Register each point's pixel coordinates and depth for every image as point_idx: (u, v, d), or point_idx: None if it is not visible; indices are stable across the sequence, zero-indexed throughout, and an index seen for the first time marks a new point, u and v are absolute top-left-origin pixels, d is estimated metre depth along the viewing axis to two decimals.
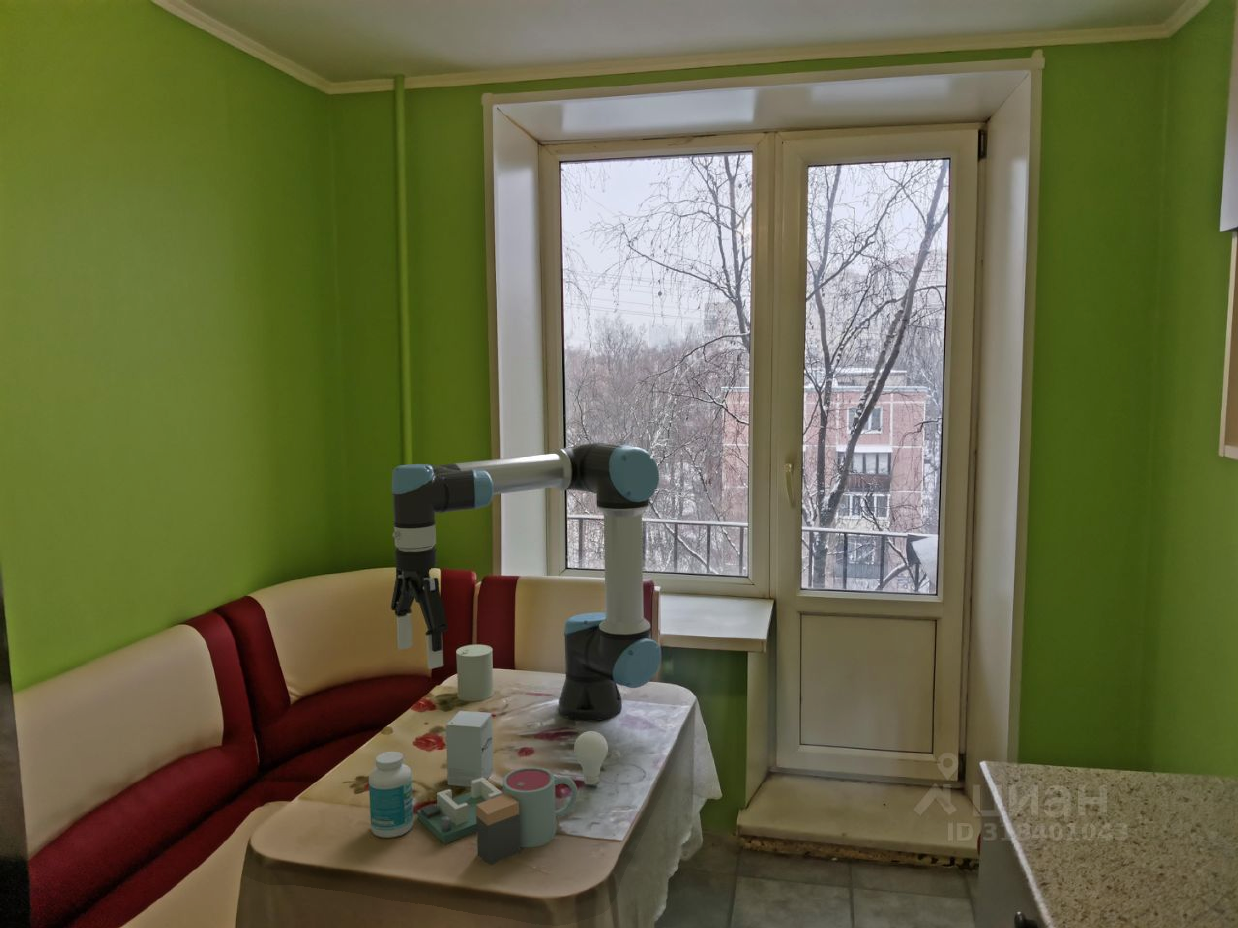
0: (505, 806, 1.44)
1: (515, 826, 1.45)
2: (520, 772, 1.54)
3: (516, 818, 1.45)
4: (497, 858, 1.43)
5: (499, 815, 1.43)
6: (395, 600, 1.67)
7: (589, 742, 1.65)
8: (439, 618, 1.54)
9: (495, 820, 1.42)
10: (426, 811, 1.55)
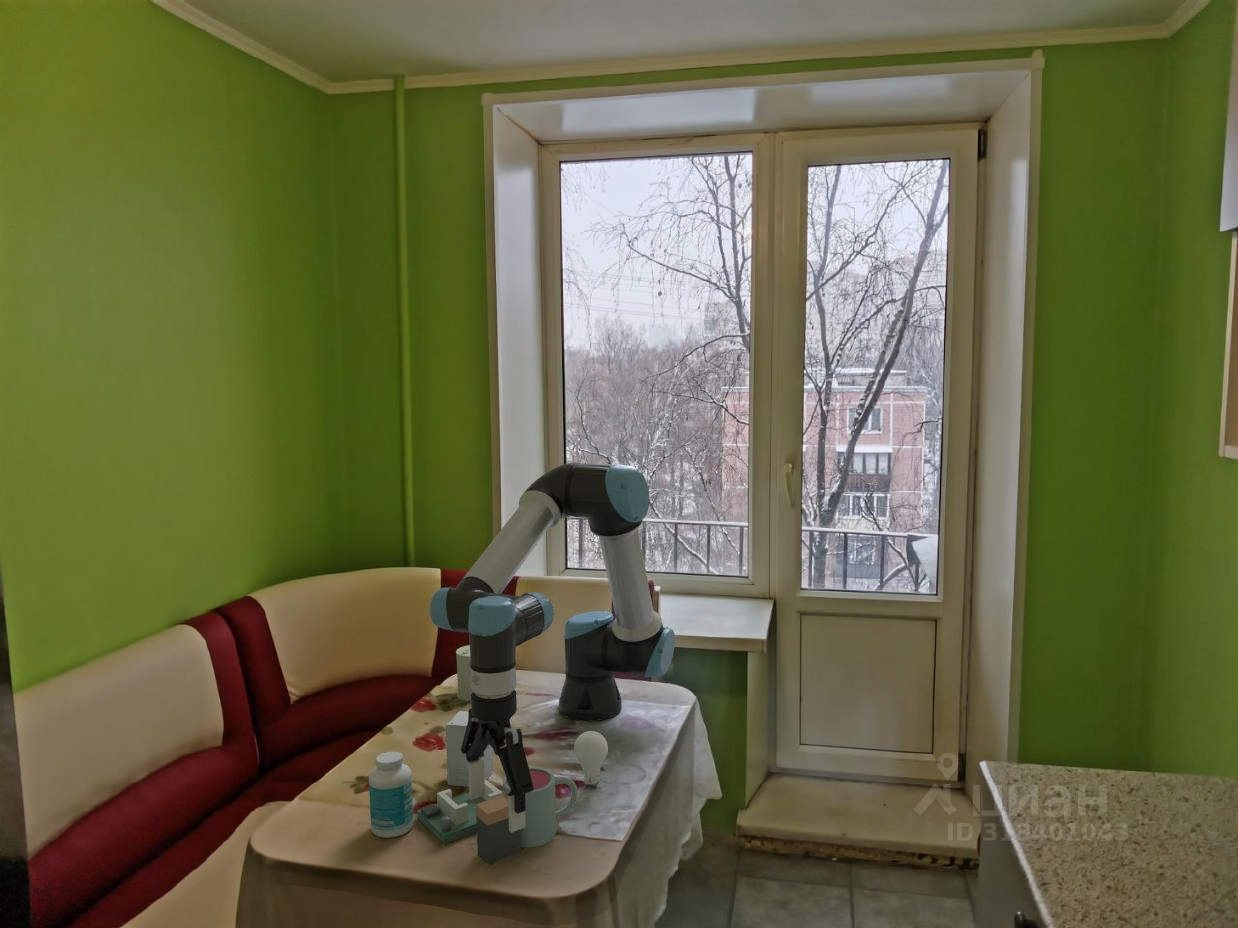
0: (505, 806, 1.44)
1: None
2: None
3: None
4: (497, 858, 1.43)
5: (499, 815, 1.43)
6: (467, 744, 1.49)
7: (589, 742, 1.65)
8: (524, 777, 1.36)
9: (495, 820, 1.42)
10: (426, 811, 1.55)
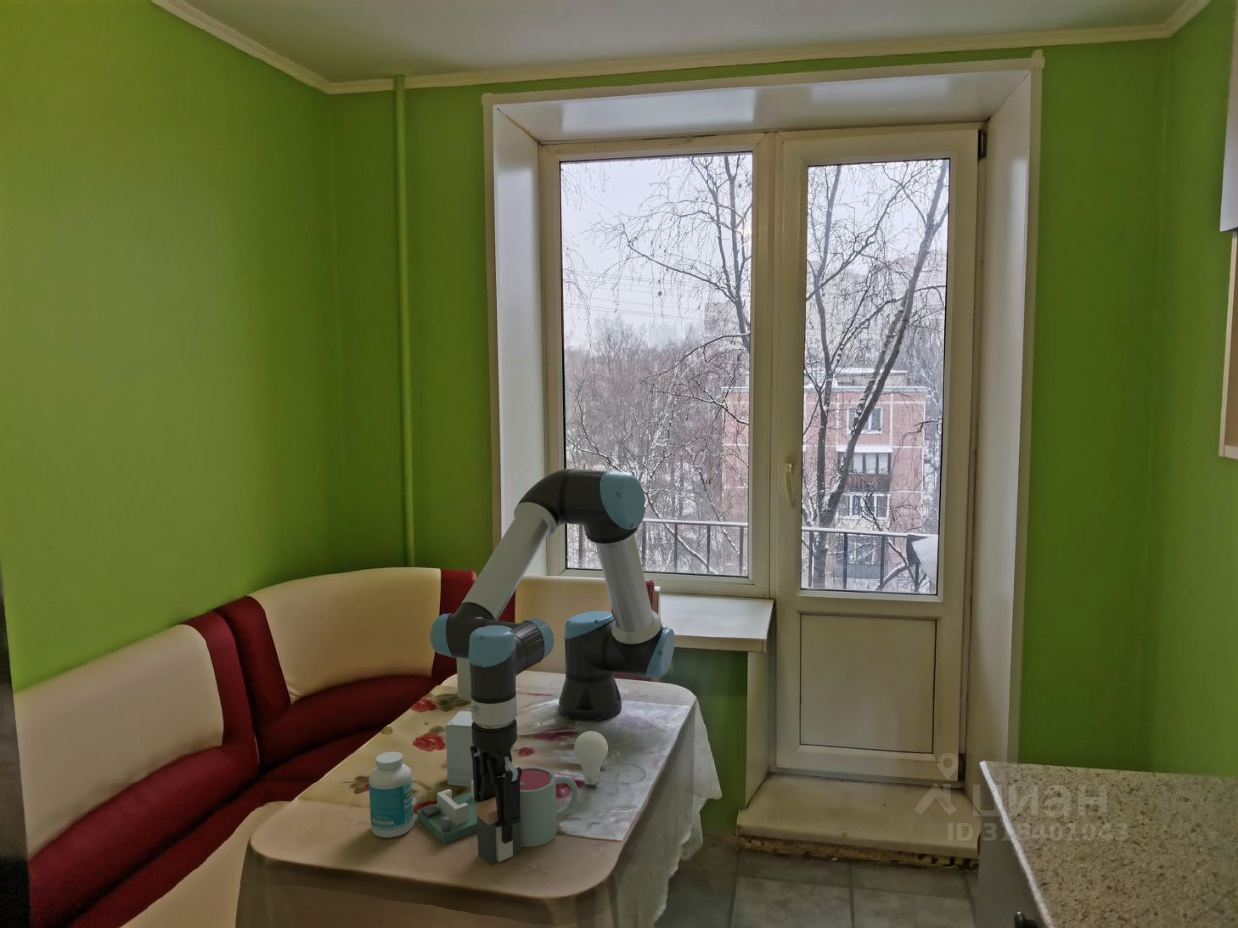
0: None
1: (516, 826, 1.45)
2: None
3: None
4: None
5: None
6: (477, 787, 1.47)
7: (589, 742, 1.65)
8: (513, 811, 1.40)
9: (495, 819, 1.42)
10: (426, 811, 1.55)
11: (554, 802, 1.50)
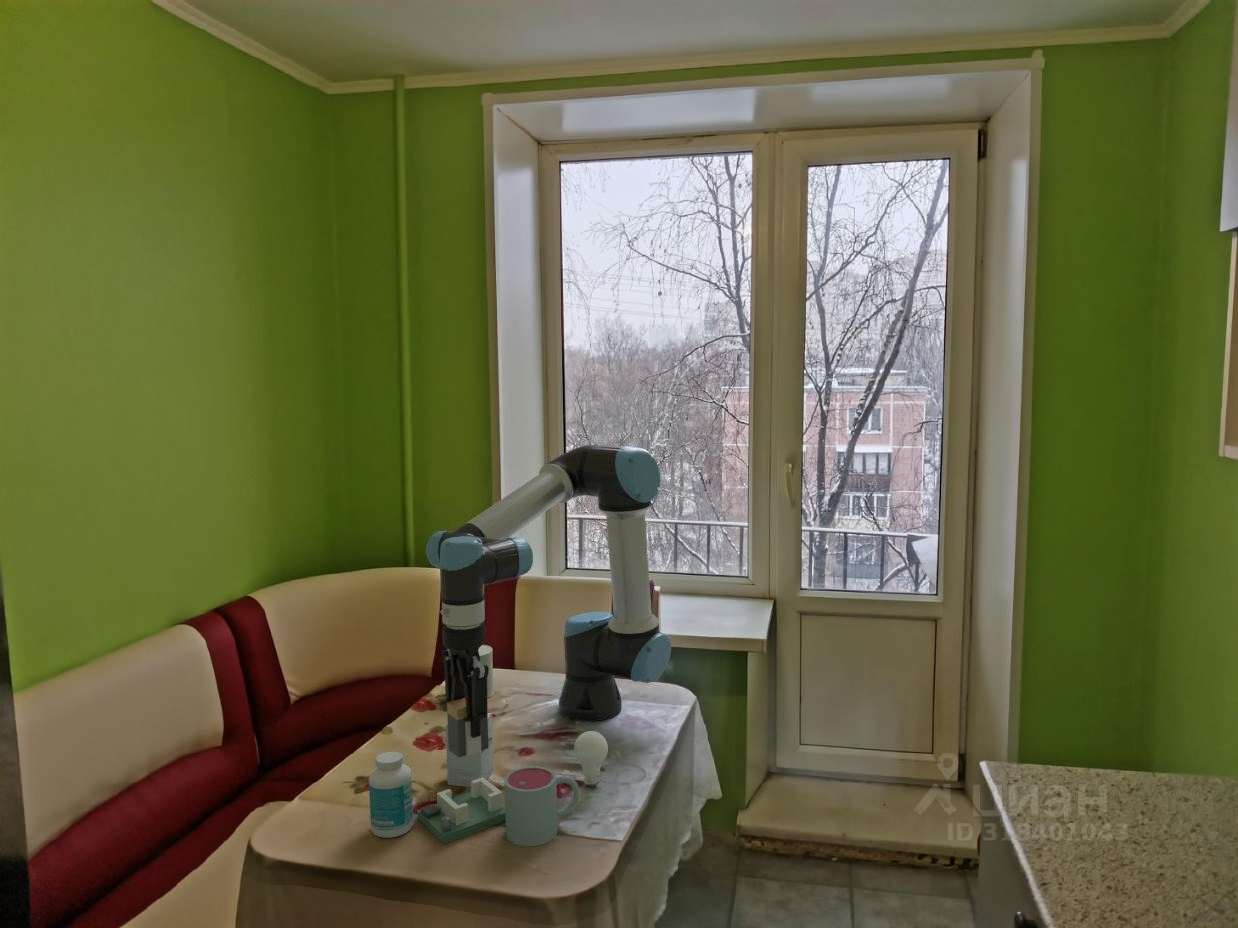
0: None
1: (484, 723, 1.56)
2: (522, 771, 1.54)
3: None
4: None
5: None
6: (449, 689, 1.58)
7: (589, 742, 1.65)
8: (481, 706, 1.50)
9: (464, 716, 1.53)
10: (426, 811, 1.55)
11: (555, 802, 1.50)
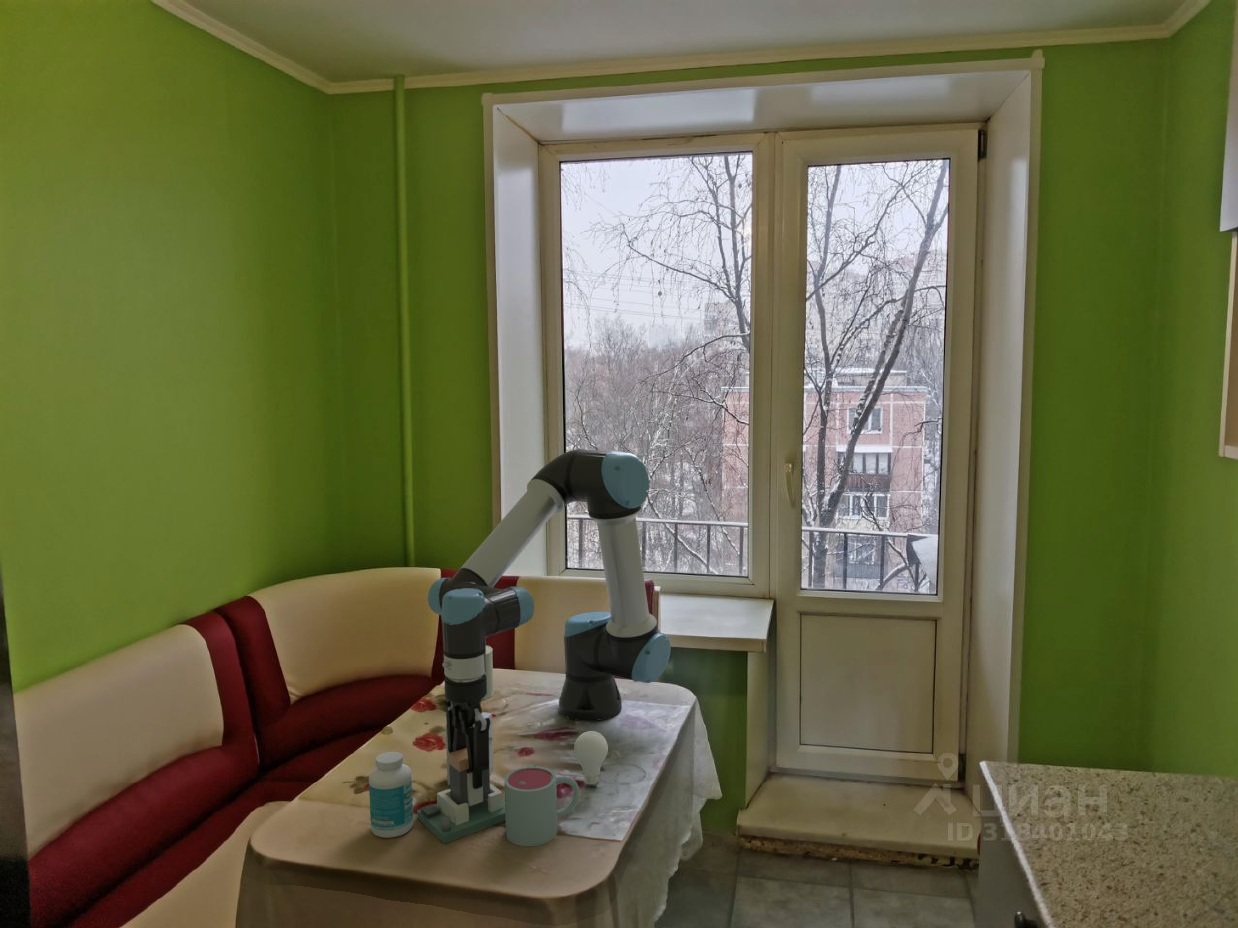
0: None
1: (485, 774, 1.57)
2: (522, 771, 1.54)
3: None
4: None
5: None
6: (451, 739, 1.59)
7: (589, 742, 1.65)
8: (483, 759, 1.52)
9: (466, 767, 1.54)
10: (426, 811, 1.55)
11: (555, 802, 1.50)
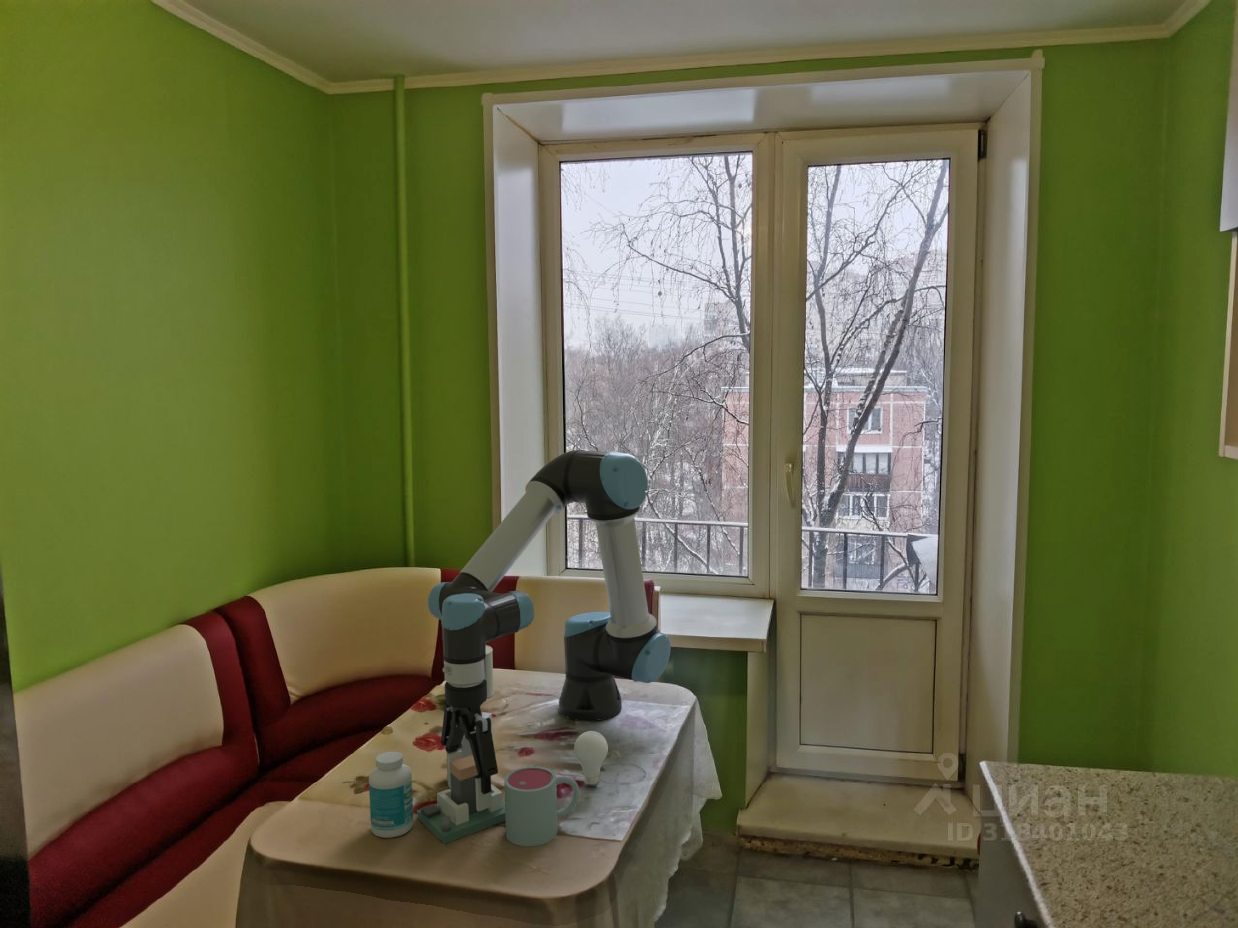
0: None
1: None
2: (522, 771, 1.54)
3: None
4: (469, 811, 1.55)
5: (470, 771, 1.55)
6: (445, 734, 1.61)
7: (589, 742, 1.65)
8: (490, 761, 1.50)
9: (467, 776, 1.54)
10: (426, 811, 1.55)
11: (555, 802, 1.50)
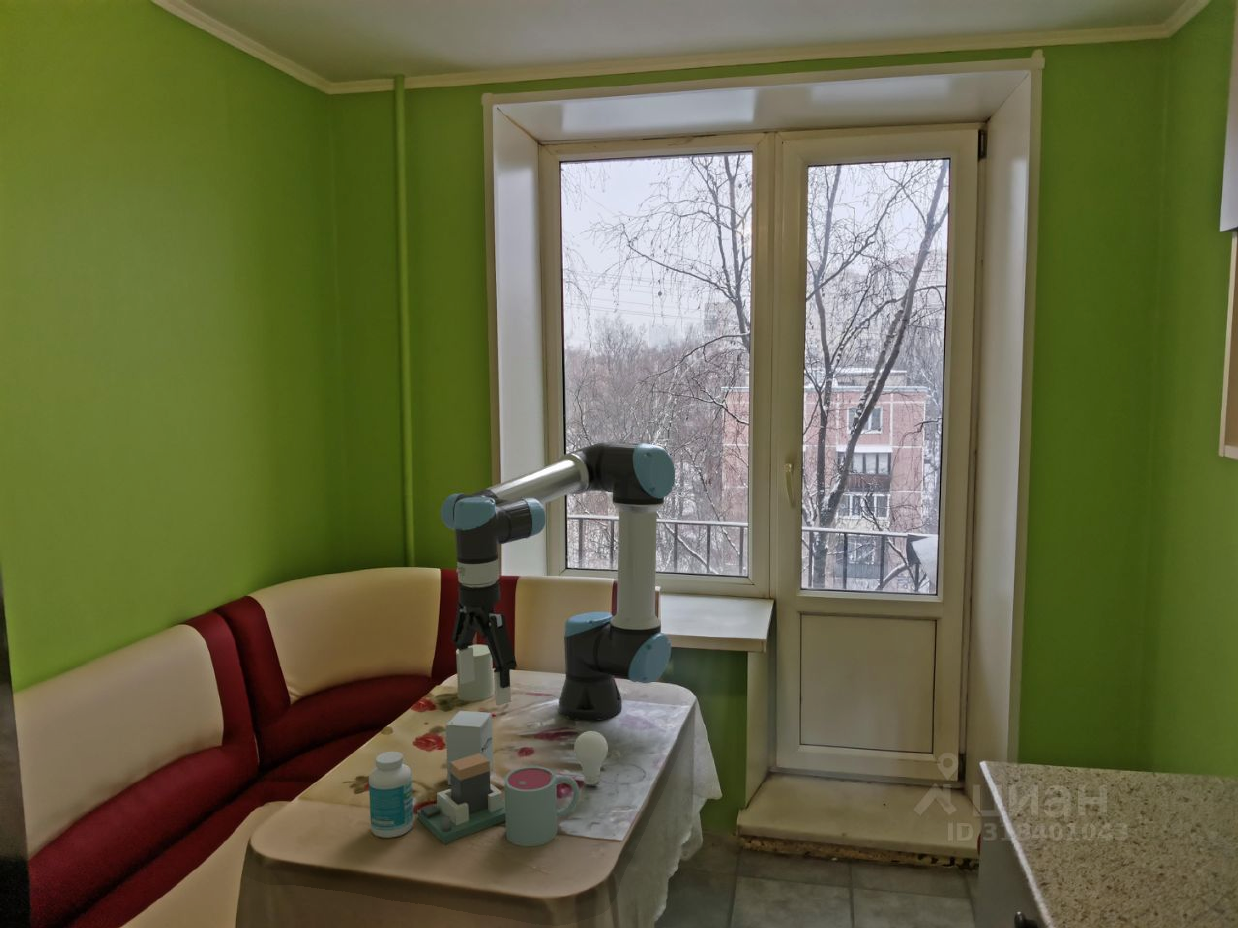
0: (476, 763, 1.56)
1: (486, 783, 1.57)
2: (522, 771, 1.54)
3: (487, 775, 1.57)
4: (469, 811, 1.55)
5: (470, 771, 1.55)
6: (457, 633, 1.64)
7: (589, 742, 1.65)
8: (507, 655, 1.51)
9: (467, 776, 1.54)
10: (426, 811, 1.55)
11: (555, 802, 1.50)
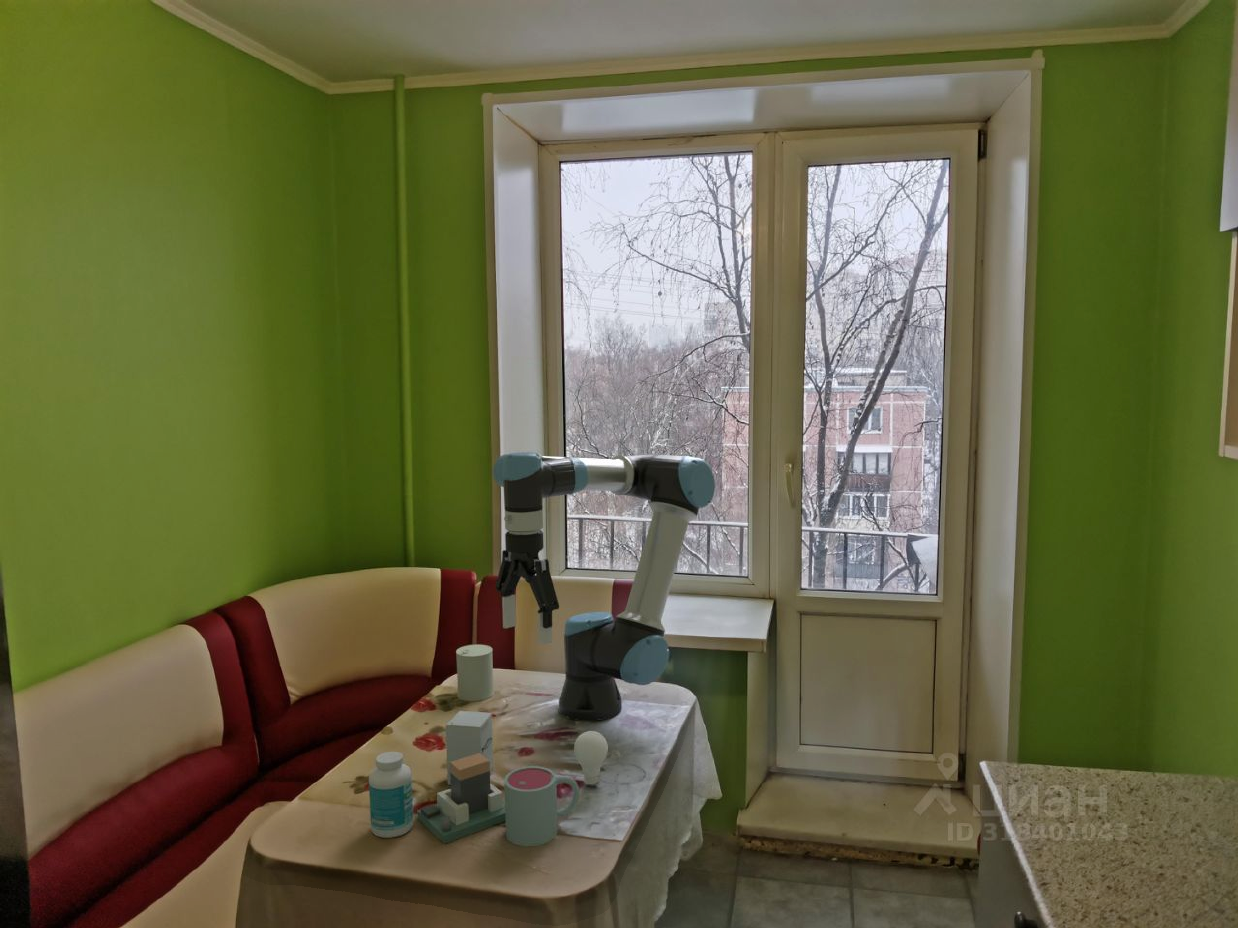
0: (476, 763, 1.56)
1: (486, 783, 1.57)
2: (522, 771, 1.54)
3: (487, 775, 1.57)
4: (469, 811, 1.55)
5: (470, 771, 1.55)
6: (501, 581, 1.76)
7: (589, 742, 1.65)
8: (551, 597, 1.63)
9: (467, 776, 1.54)
10: (426, 811, 1.55)
11: (555, 802, 1.50)
